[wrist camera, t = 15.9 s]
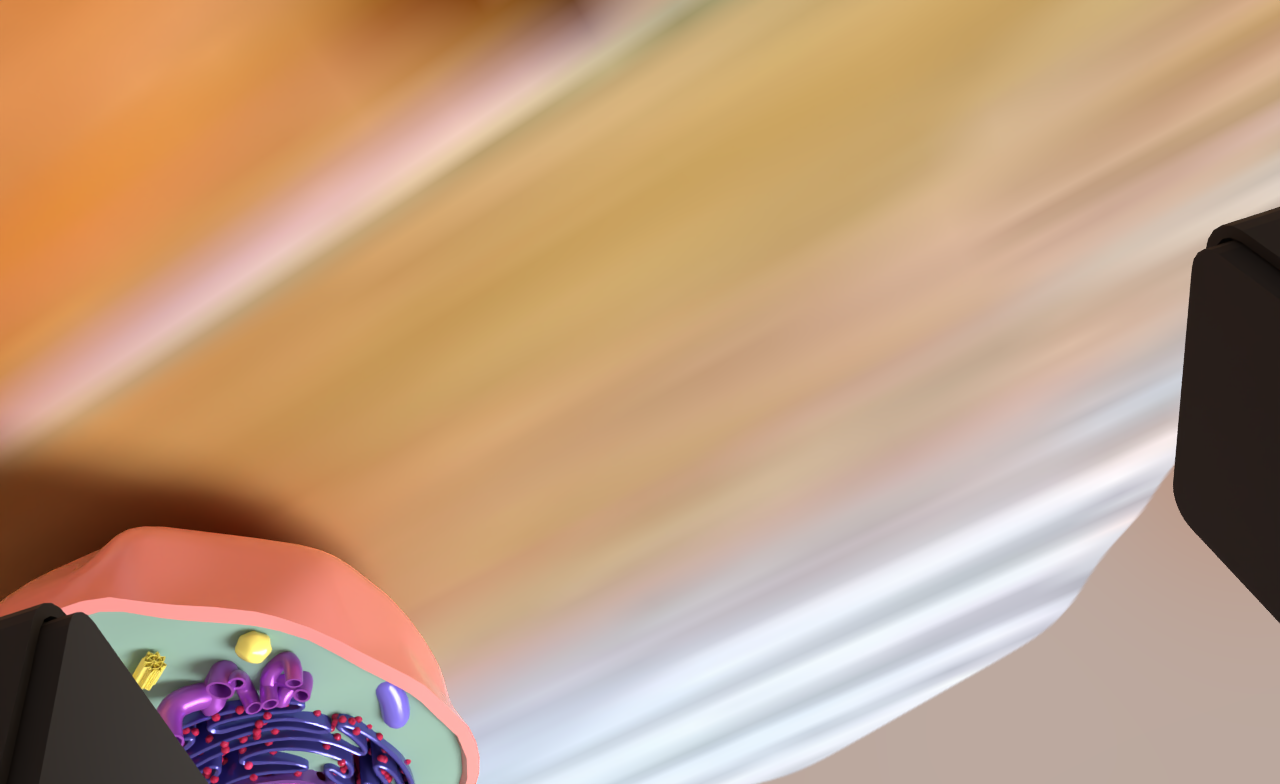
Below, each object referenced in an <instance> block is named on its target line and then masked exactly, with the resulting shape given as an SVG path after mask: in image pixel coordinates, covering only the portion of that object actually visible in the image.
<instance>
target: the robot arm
mask: <svg viewBox="0 0 1280 784" xmlns="http://www.w3.org/2000/svg"><path fill="white" fill-rule="evenodd" d="M1173 489H1174V490H1173V492H1174V496H1175V500H1176V503H1177V506H1178V508H1179V510H1180V513H1181V515H1182V516H1183V518H1184V520H1185V521H1186V522H1187V524H1188V525H1189V526H1190V528H1191V529H1192V530H1193V531H1194V532H1195V533H1196V534H1197V535H1198V536H1199V537H1200V538H1201V539H1202V540H1203V541H1204V543H1205V544H1207V546H1208V547H1209V548H1210V549H1211V550H1212V551H1213V552H1214V553H1215V554H1216V555H1217V557H1218V558H1219V559H1220V560H1221V561H1222V562H1223V563H1224V564H1225V565H1226V566H1227V567H1228V568H1229V569H1230V570H1231V571H1232V573H1233V574H1234V575H1235V576H1236V577H1237V578H1238V579H1239V580H1240V581H1241V582H1242V583H1243V584H1244V585H1245V586H1246V588H1247V589H1248V590H1249V591H1250V592H1251V593H1252V594H1253V595H1254V596H1255V597H1256V598H1257V599H1258V600H1259V601H1260V602H1261V604H1262V605H1263V606H1264V607H1265V608H1266V609H1267V610H1268V611H1269V612H1270V613H1271V614H1272V615H1273V616H1274V617H1275V619H1276V620H1277V621H1278V622H1279V623H1280V207H1278V208H1275V209H1272V210H1269V211H1265V212H1262V213H1259V214H1256V215H1253V216H1250V217H1247V218H1244V219H1240V220H1237V221H1234V222H1231V223H1228V224H1225V225H1222V226H1220V227H1218V228H1217V229H1215V230H1214V231H1213V232H1212V234H1211V235H1210V237H1209V238H1208V242H1207V247H1206V249H1204V250H1202V251H1200V252H1198V253H1197V255H1196V257H1195V258H1194V261H1193V265H1192V273H1191V284H1190V296H1189V307H1188V319H1187V330H1186V342H1185V353H1184V365H1183V376H1182V388H1181V399H1180V411H1179V422H1178V434H1177V445H1176V457H1175V468H1174V480H1173ZM0 784H209V783H208V782H207V780H206V779H205V778H204V776H203V775H202V773H201V772H200V771H199V769H198V768H197V766H196V765H195V764H194V762H193V761H192V759H191V758H190V756H189V755H188V754H187V752H186V751H185V749H184V748H183V747H182V745H181V744H180V742H179V741H178V740H177V738H176V737H175V735H174V734H173V733H172V731H171V730H170V728H169V727H168V725H167V724H166V723H165V721H164V720H163V718H162V717H161V716H160V714H159V713H158V711H157V710H156V709H155V707H154V706H153V704H152V703H151V702H150V700H149V699H148V697H147V696H146V695H145V693H144V692H143V690H142V689H141V687H140V686H139V685H138V683H137V682H136V680H135V679H134V678H133V676H132V675H131V673H130V672H129V671H128V669H127V668H126V666H125V665H124V664H123V662H122V661H121V659H120V658H119V656H118V655H117V654H116V652H115V651H114V649H113V648H112V647H111V645H110V644H109V642H108V641H107V640H106V638H105V637H104V635H103V634H102V633H101V631H100V630H99V628H98V627H97V625H96V624H95V623H94V621H93V620H92V619H91V618H90V617H89V616H88V615H87V614H85V613H83V612H76V613H72V614H69V615H66V614H65V613H64V612H63V610H62V609H61V608H60V607H58V606H56V605H54V604H53V603H42V604H39V605H36V606H33V607H30V608H27V609H24V610H20V611H17V612H14V613H11V614H8V615H5V616H2V617H0Z"/></svg>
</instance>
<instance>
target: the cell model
mask: <svg viewBox="0 0 1280 784" xmlns="http://www.w3.org/2000/svg"><path fill="white" fill-rule="evenodd" d="M42 603H53V604H54V605H56V606H58V607H60V608H61V609H62V610H63V612H64V613H65V614H66V615H69V614H72V613H76V612H83V613H85V614H87V615H88V616H89V617H90V618H91V619H92V620H93V621H94V623H95V624H96V625H97V627H98V628H99V630H100V631H101V633H102V634H103V635H104V637H105V638H106V640H107V641H108V642H109V644H110V645H111V647H112V648H113V649H114V651H115V652H116V654H117V655H118V656H119V658H120V659H121V661H122V662H123V664H124V665H125V666H126V668H127V669H128V671H129V672H130V673H131V675H132V676H133V678H134V679H135V680H136V682H137V683H138V685H139V686H140V687H141V689H142V690H143V692H144V693H145V695H146V696H147V697H148V699H149V700H150V702H151V703H152V704H153V706H154V707H155V709H156V710H157V711H158V713H159V714H160V716H161V717H162V718H163V720H164V721H165V723H166V724H167V725H168V727H169V728H170V730H171V731H172V733H173V734H174V735H175V737H176V738H177V740H178V741H179V742H180V744H181V745H182V747H183V748H184V749H185V751H186V752H187V754H188V755H189V756H190V758H191V759H192V761H193V762H194V764H195V765H196V766H197V768H198V769H199V771H200V772H201V773H202V775H203V776H204V778H205V779H206V780H207V782H208V783H209V784H476V782H477V778H478V775H479V753H478V748H477V744H476V741H475V739H474V737H473V735H472V732H471V730H470V728H469V727H468V725H467V724H466V723H465V721H464V720H463V719H462V717H461V716H460V715H459V714H458V712H457V711H456V710H455V708H454V707H453V705H452V703H451V701H450V699H449V695H448V692H447V688H446V684H445V680H444V677H443V674H442V672H441V669H440V666H439V664H438V662H437V660H436V659H435V657H434V655H433V654H432V652H431V650H430V648H429V647H428V645H427V643H426V641H425V640H424V638H423V637H422V635H421V634H420V632H419V631H418V630H417V628H416V627H415V626H414V624H413V623H412V622H411V620H410V619H409V618H408V616H407V615H406V614H405V613H404V612H403V611H402V610H401V609H400V608H399V606H398V605H397V604H396V603H395V602H394V601H393V600H392V599H391V598H390V597H389V596H388V595H387V594H386V593H385V592H384V591H382V590H381V589H380V588H378V587H377V586H376V585H375V584H373V583H372V582H371V581H369V580H368V579H367V578H366V577H364V576H363V575H362V574H361V573H359V572H358V571H357V570H355V569H354V568H353V567H352V566H350V565H349V564H347V563H346V562H344V561H342V560H341V559H339V558H338V557H336V556H333V555H331V554H329V553H327V552H325V551H322V550H319V549H315V548H311V547H307V546H304V545H300V544H294V543H287V542H280V541H273V540H266V539H259V538H252V537H245V536H237V535H229V534H221V533H213V532H205V531H197V530H189V529H181V528H173V527H161V526H144V527H135V528H131V529H128V530H126V531H124V532H122V533H120V534H118V535H116V536H115V537H114V538H113V539H112V540H111V541H110V542H108V543H107V544H106V545H105V546H104V547H102V548H101V549H99V550H97V551H95V552H92V553H90V554H88V555H86V556H83V557H81V558H79V559H77V560H74V561H72V562H70V563H68V564H66V565H63V566H61V567H59V568H57V569H54V570H52V571H50V572H48V573H46V574H43V575H42V576H40V577H38V578H36V579H34V580H32V581H30V582H28V583H27V584H25V585H24V586H22V587H21V588H19V589H18V590H16V591H14V592H13V593H11V594H10V595H8V596H7V597H6V598H4V599H3V600H2V601H1V602H0V617H2V616H5V615H8V614H11V613H14V612H17V611H20V610H24V609H27V608H30V607H33V606H36V605H39V604H42Z"/></svg>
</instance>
